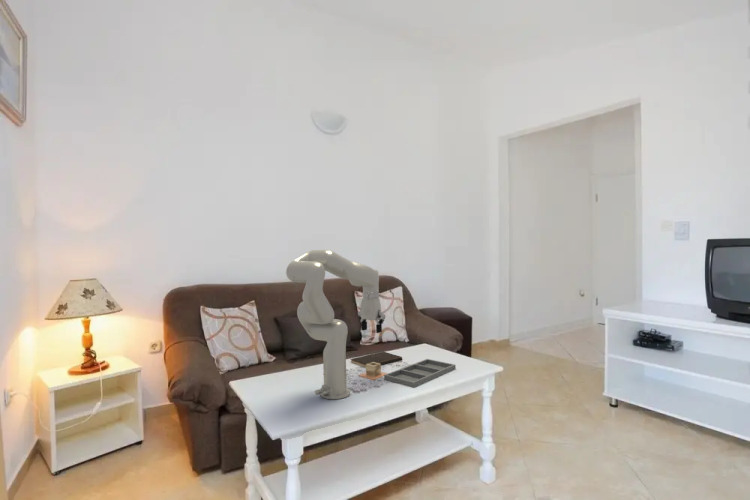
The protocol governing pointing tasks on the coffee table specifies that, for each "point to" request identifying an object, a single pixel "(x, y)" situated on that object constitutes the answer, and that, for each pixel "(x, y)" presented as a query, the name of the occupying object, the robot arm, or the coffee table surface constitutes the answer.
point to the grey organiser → (419, 372)
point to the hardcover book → (376, 359)
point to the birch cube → (373, 369)
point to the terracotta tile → (372, 376)
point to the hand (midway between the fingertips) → (371, 331)
